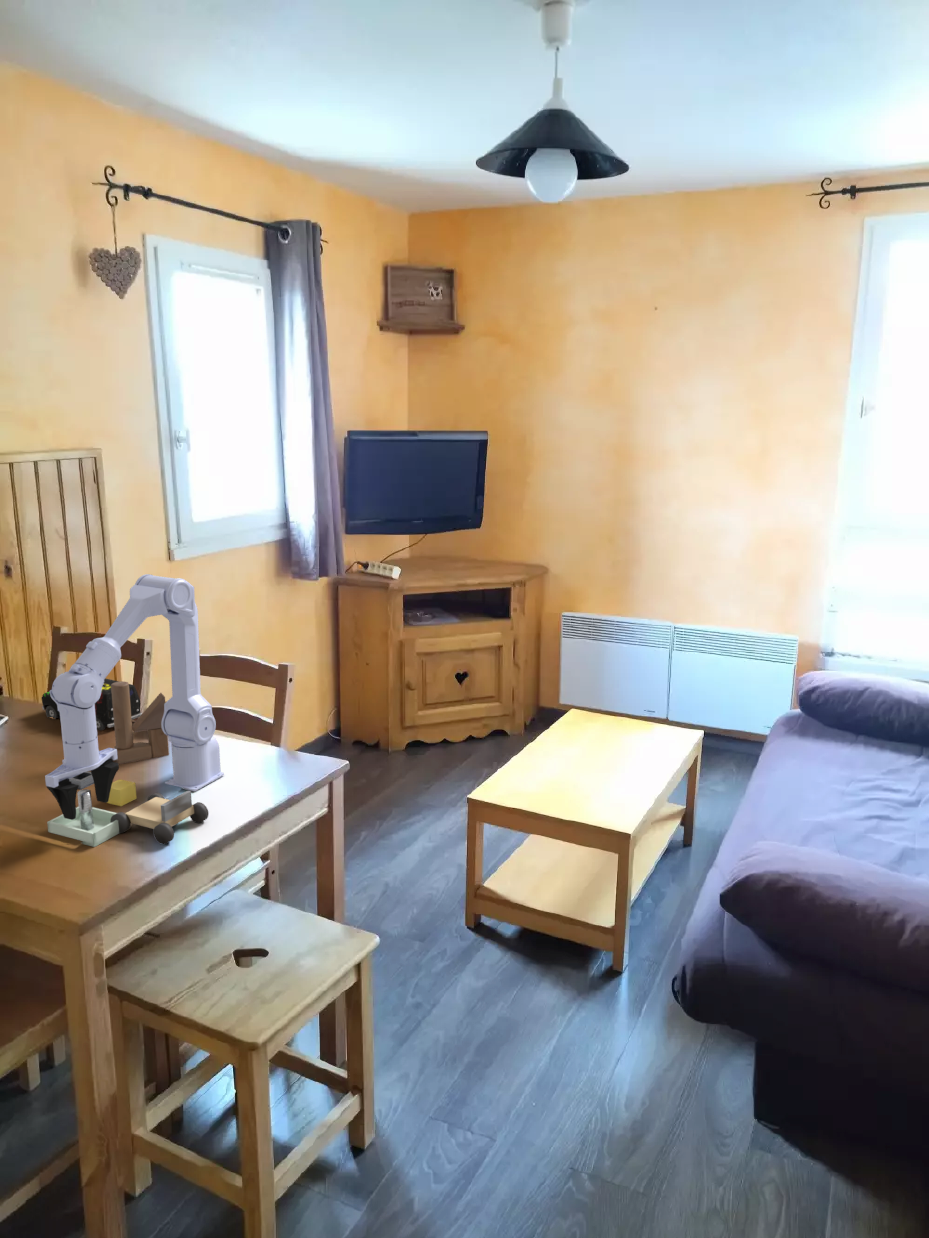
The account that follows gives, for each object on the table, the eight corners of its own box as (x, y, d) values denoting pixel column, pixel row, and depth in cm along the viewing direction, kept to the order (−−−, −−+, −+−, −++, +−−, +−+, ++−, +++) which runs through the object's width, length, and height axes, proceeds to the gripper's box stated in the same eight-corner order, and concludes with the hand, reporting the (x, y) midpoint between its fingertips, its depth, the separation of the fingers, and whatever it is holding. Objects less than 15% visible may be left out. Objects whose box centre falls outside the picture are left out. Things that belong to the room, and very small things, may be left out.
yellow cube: (121, 797, 176) (119, 779, 175) (136, 801, 174) (135, 782, 173) (105, 805, 172) (104, 786, 171) (121, 809, 170) (119, 790, 170)
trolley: (152, 808, 171) (149, 777, 169) (208, 822, 165) (207, 790, 164) (111, 831, 161) (108, 798, 160) (170, 846, 156) (167, 812, 155)
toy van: (76, 705, 231) (73, 668, 228) (144, 721, 219) (141, 682, 217) (40, 717, 221) (36, 678, 219) (109, 734, 210) (106, 694, 208)
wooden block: (169, 757, 196) (164, 679, 192) (118, 767, 190) (111, 687, 186) (165, 752, 199) (160, 675, 195) (115, 761, 193) (108, 682, 189)
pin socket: (82, 779, 184) (81, 769, 183) (100, 783, 182) (99, 773, 182) (62, 788, 180) (61, 777, 179) (81, 792, 178) (80, 782, 177)
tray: (83, 816, 167) (82, 804, 166) (128, 828, 163) (127, 815, 162) (48, 834, 160) (47, 821, 159) (94, 846, 156) (93, 833, 155)
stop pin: (89, 824, 163) (85, 788, 161) (96, 827, 162) (93, 790, 160) (78, 828, 161) (74, 792, 159) (85, 831, 160) (82, 795, 158)
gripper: (94, 722, 165) (100, 790, 168) (29, 748, 152) (37, 821, 155) (123, 728, 162) (129, 797, 166) (59, 755, 150) (67, 829, 153)
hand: (86, 809), depth 160 cm, fingers open, 7 cm apart
